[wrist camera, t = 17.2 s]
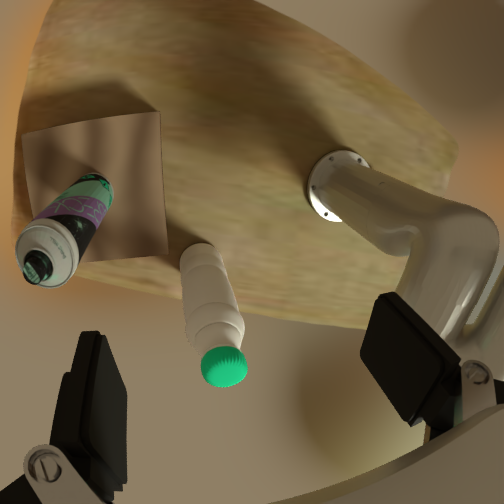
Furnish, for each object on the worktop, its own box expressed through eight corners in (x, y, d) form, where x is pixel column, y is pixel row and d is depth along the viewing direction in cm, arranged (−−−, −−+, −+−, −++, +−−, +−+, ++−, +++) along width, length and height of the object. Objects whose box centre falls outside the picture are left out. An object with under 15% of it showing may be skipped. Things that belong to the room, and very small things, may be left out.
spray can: (106, 220, 36) (61, 317, 19) (69, 206, 34) (0, 292, 17) (120, 180, 34) (72, 253, 17) (81, 166, 32) (4, 226, 15)
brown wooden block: (162, 111, 39) (159, 111, 32) (169, 231, 47) (168, 254, 40) (44, 129, 35) (21, 134, 28) (61, 242, 43) (45, 266, 36)
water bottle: (171, 266, 50) (178, 385, 28) (195, 233, 48) (218, 341, 27) (205, 285, 53) (232, 402, 32) (229, 255, 52) (274, 365, 30)
